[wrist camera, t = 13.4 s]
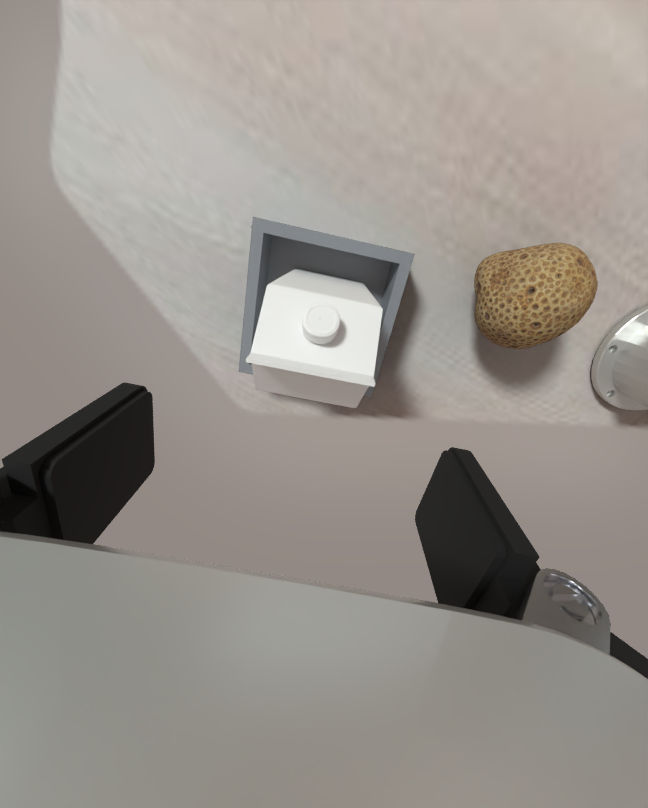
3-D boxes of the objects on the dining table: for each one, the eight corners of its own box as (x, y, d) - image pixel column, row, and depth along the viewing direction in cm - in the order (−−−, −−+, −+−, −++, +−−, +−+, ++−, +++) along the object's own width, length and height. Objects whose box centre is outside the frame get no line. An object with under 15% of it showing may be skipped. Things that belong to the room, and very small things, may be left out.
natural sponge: (528, 337, 36) (594, 368, 27) (448, 332, 36) (486, 361, 27) (560, 246, 32) (649, 246, 23) (469, 240, 32) (522, 237, 23)
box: (403, 252, 32) (414, 253, 28) (367, 380, 38) (371, 398, 34) (264, 221, 31) (252, 216, 27) (250, 356, 38) (238, 371, 33)
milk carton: (348, 348, 36) (359, 439, 19) (285, 336, 36) (240, 417, 19) (363, 282, 33) (394, 320, 16) (295, 267, 33) (251, 291, 16)
